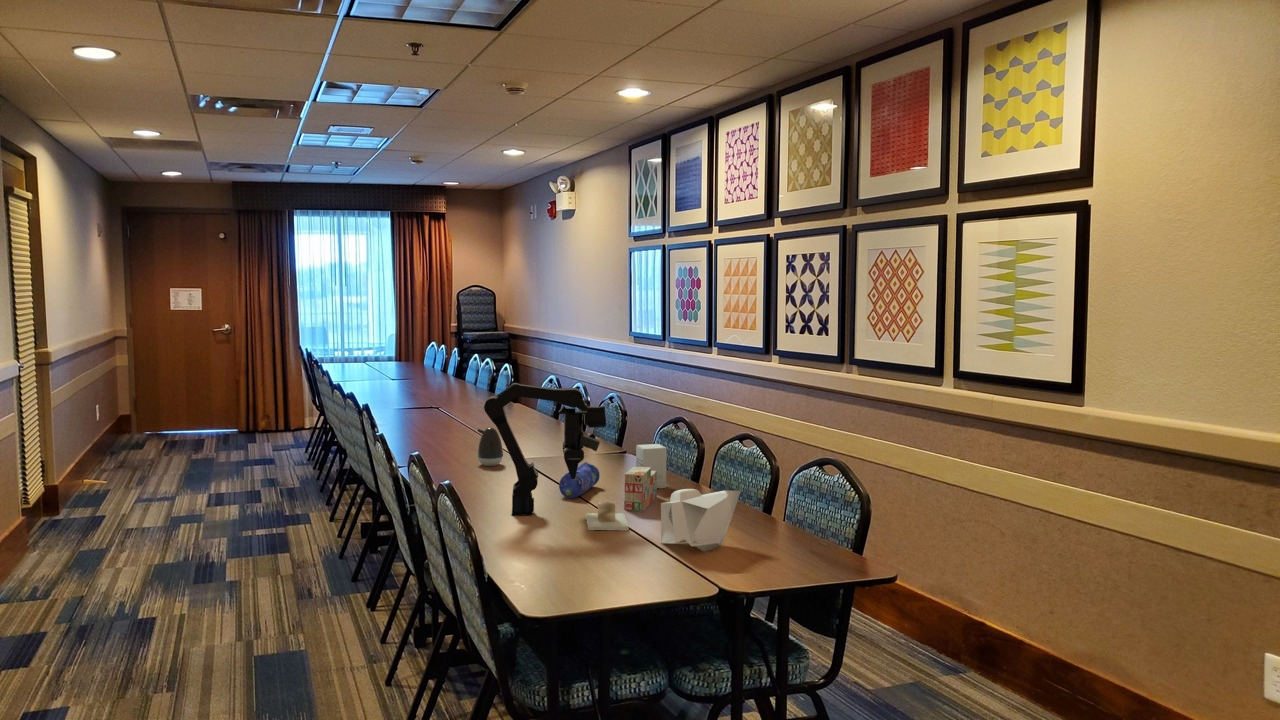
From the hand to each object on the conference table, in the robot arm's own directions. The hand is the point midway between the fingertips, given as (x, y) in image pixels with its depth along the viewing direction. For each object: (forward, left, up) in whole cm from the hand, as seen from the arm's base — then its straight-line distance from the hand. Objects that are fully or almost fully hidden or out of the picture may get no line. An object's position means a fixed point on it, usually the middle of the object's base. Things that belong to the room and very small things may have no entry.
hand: (572, 475), depth 295 cm
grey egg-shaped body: (-30, +78, -12) cm, 84 cm away
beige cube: (+10, -14, -11) cm, 20 cm away
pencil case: (+4, +29, -12) cm, 32 cm away
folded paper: (+36, -40, -12) cm, 55 cm away
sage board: (+10, -14, -12) cm, 21 cm away
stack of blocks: (+24, +12, -12) cm, 29 cm away
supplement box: (+30, +37, -12) cm, 49 cm away
